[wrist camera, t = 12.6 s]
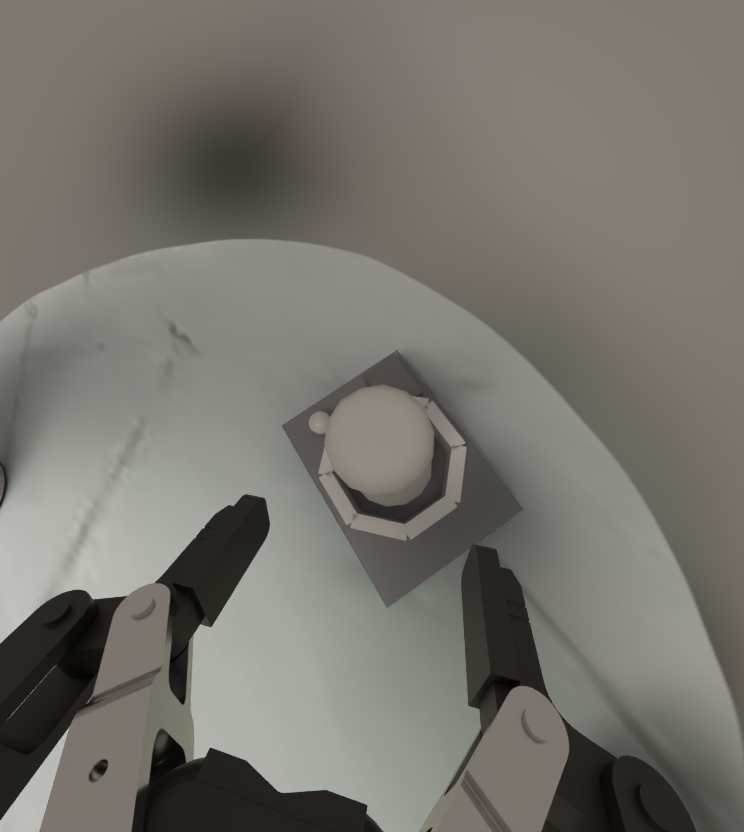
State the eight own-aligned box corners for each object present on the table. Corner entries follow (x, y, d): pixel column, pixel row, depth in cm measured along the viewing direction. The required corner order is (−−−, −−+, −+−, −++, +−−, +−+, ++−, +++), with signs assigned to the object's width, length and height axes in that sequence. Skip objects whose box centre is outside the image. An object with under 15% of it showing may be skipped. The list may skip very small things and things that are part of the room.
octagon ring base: (294, 433, 27) (268, 418, 22) (397, 364, 28) (396, 334, 23) (389, 593, 23) (384, 622, 18) (508, 507, 24) (538, 510, 18)
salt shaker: (380, 418, 24) (355, 333, 11) (442, 454, 23) (490, 403, 10) (341, 479, 23) (267, 459, 10) (404, 520, 22) (404, 555, 9)
